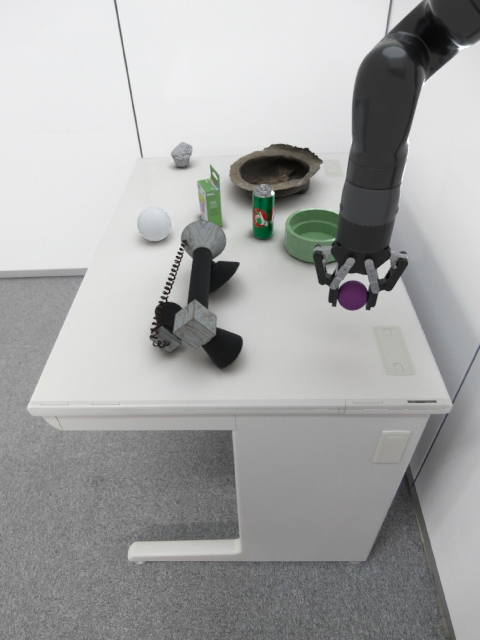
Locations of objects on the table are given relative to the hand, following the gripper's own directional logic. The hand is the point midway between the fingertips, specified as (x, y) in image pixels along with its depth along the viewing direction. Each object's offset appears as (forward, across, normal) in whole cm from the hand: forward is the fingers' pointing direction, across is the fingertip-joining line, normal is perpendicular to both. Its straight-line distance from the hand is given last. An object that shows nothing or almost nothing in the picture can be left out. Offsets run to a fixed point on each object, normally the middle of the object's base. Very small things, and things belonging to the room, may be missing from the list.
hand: (350, 304), depth 71 cm
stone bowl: (+10, +21, -58) cm, 63 cm away
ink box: (+10, +34, -39) cm, 53 cm away
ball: (+10, +45, -29) cm, 55 cm away
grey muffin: (+10, +51, -70) cm, 87 cm away
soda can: (+10, +20, -35) cm, 42 cm away
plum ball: (-2, 0, 0) cm, 2 cm away
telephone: (+10, +27, -5) cm, 29 cm away
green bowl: (+10, +7, -32) cm, 35 cm away
